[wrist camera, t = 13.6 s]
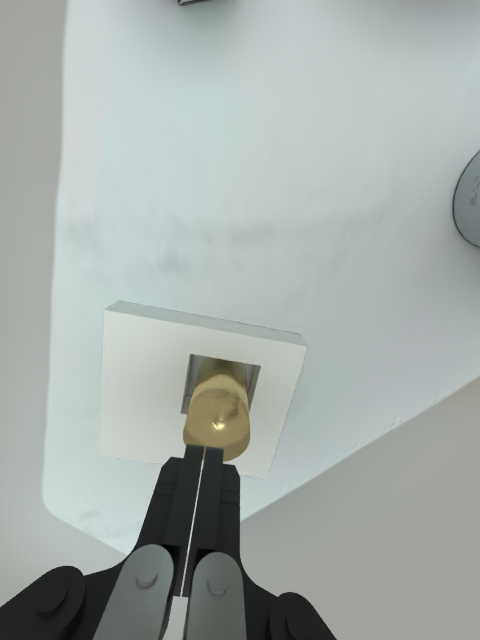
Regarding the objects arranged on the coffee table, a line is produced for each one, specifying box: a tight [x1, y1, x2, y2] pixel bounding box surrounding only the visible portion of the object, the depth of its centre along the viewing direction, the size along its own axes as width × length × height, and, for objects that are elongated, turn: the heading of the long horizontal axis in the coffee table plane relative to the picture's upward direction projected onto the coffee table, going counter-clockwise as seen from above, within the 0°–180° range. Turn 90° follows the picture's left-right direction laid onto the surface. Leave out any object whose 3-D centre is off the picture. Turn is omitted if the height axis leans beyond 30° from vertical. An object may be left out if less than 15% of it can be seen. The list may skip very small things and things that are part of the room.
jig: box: [98, 301, 308, 478], centre depth 27 cm, size 18×16×3 cm
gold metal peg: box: [183, 357, 250, 462], centre depth 24 cm, size 5×5×9 cm
